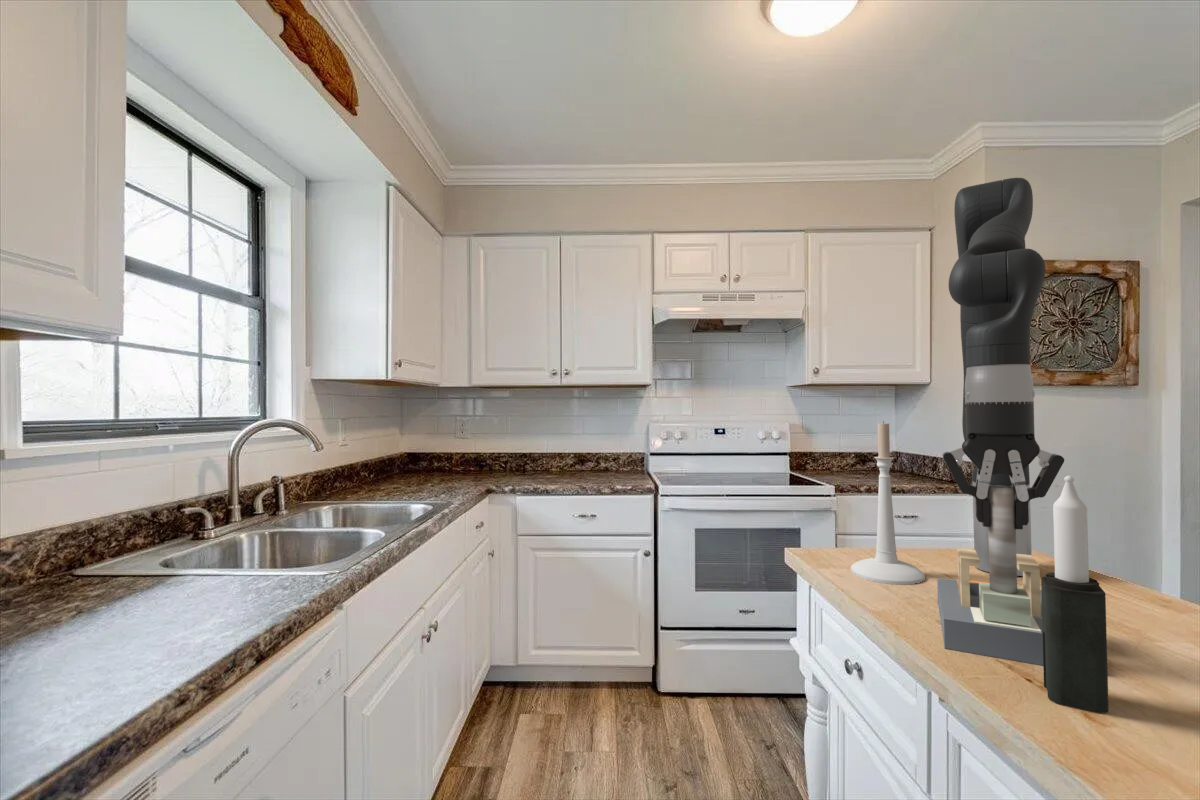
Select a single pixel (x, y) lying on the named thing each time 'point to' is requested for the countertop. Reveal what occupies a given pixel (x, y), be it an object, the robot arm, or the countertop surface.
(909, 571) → the candlestick
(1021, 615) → the post on square base
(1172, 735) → the countertop surface
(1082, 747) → the countertop surface
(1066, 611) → the candle
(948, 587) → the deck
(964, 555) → the wooden brackets
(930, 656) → the countertop surface
